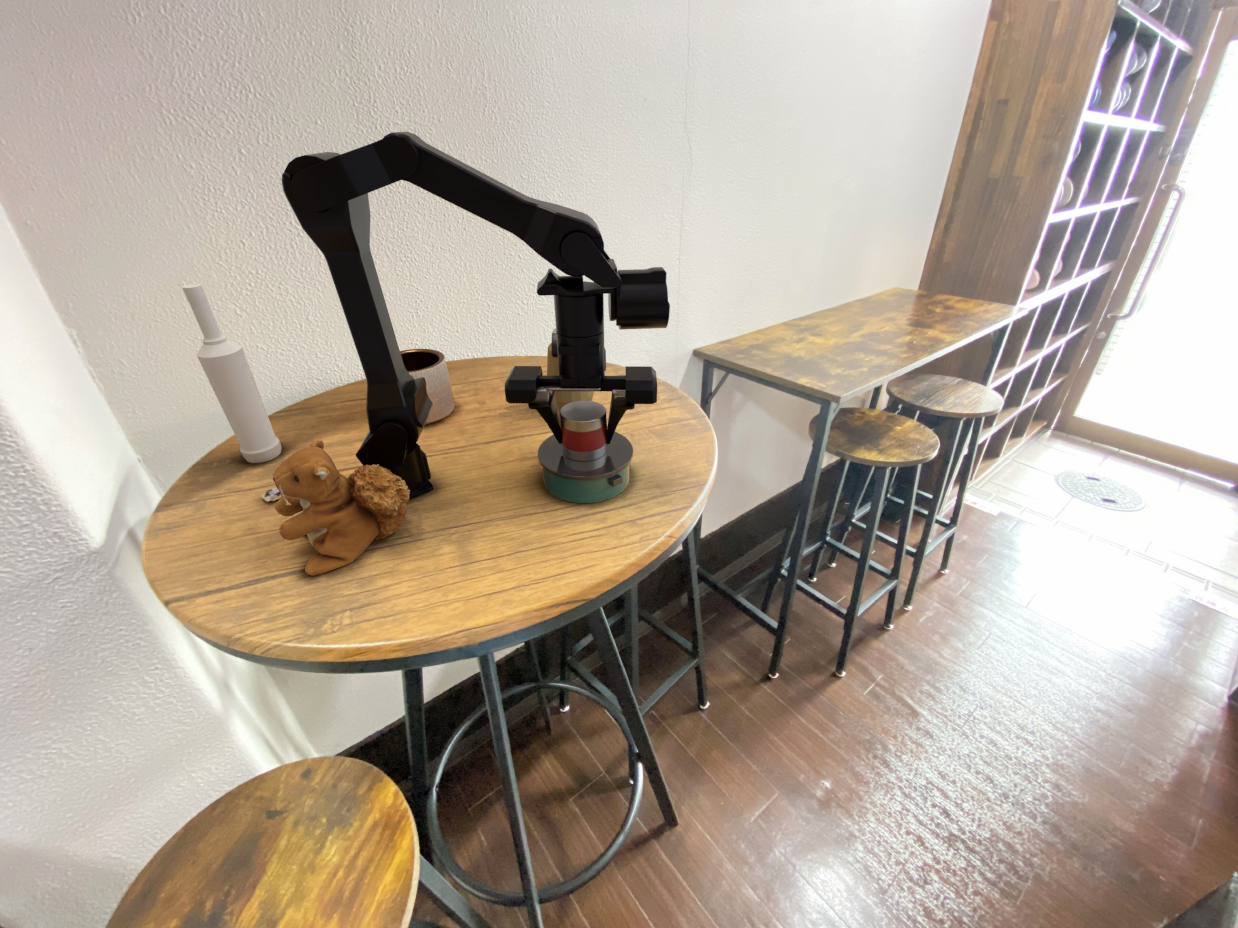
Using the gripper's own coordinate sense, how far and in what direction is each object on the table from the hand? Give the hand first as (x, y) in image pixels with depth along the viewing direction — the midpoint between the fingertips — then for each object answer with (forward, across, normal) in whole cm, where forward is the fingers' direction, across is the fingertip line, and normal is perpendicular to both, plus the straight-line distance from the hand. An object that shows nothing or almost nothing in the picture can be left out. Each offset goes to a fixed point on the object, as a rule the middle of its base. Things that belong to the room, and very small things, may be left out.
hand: (584, 442), depth 72 cm
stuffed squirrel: (+6, +27, +13) cm, 30 cm away
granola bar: (+6, +40, +4) cm, 41 cm away
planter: (+6, +30, -20) cm, 36 cm away
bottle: (+6, +49, -6) cm, 50 cm away
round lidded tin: (+6, 0, 0) cm, 6 cm away
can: (+1, 0, 0) cm, 1 cm away
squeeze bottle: (+6, +4, -20) cm, 21 cm away
